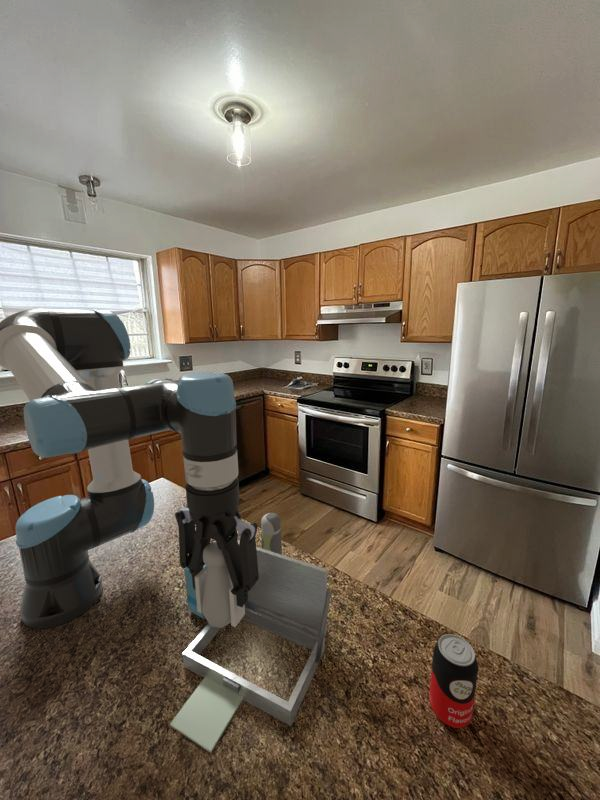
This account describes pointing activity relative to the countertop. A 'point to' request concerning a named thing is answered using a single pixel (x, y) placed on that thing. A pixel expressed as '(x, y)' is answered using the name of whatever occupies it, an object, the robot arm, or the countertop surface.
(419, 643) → the countertop surface
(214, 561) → the salt shaker
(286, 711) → the case
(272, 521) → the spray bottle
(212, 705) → the pad
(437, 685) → the beverage can
